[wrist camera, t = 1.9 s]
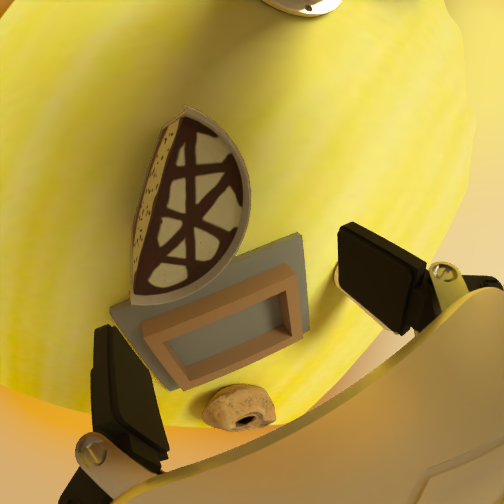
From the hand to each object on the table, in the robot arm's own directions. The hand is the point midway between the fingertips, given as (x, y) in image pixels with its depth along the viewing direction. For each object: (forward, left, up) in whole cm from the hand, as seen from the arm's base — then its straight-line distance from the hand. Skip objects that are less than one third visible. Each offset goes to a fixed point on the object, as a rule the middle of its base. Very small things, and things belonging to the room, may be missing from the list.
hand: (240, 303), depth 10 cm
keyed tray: (+17, 0, -16) cm, 23 cm away
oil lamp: (+34, -2, -16) cm, 38 cm away
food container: (0, 0, -16) cm, 16 cm away
